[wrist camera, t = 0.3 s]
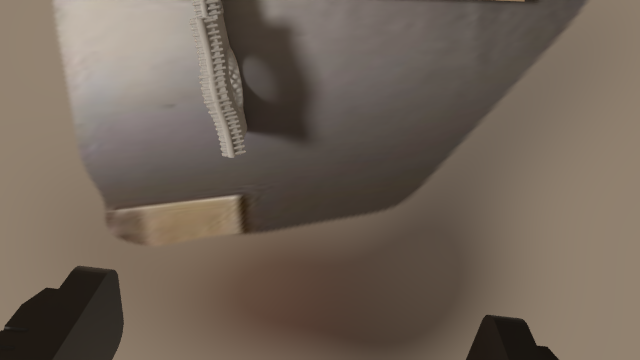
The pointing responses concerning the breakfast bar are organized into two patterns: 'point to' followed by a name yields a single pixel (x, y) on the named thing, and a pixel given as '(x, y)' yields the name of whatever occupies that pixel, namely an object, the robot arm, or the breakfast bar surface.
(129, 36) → the breakfast bar surface
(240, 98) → the lattice window wall
